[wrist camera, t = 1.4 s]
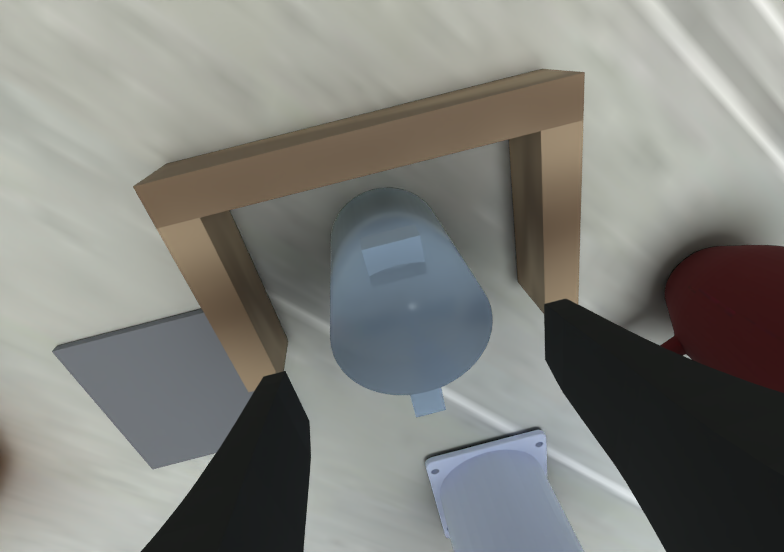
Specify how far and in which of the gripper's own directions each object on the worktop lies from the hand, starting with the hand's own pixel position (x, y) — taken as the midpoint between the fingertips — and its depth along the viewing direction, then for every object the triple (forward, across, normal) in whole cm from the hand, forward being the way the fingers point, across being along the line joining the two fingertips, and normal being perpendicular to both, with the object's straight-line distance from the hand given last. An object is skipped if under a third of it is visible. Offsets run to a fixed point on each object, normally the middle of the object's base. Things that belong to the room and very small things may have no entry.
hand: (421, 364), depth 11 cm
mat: (+8, +12, +6) cm, 15 cm away
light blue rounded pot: (+8, 0, 0) cm, 8 cm away
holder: (+8, 0, 0) cm, 8 cm away
